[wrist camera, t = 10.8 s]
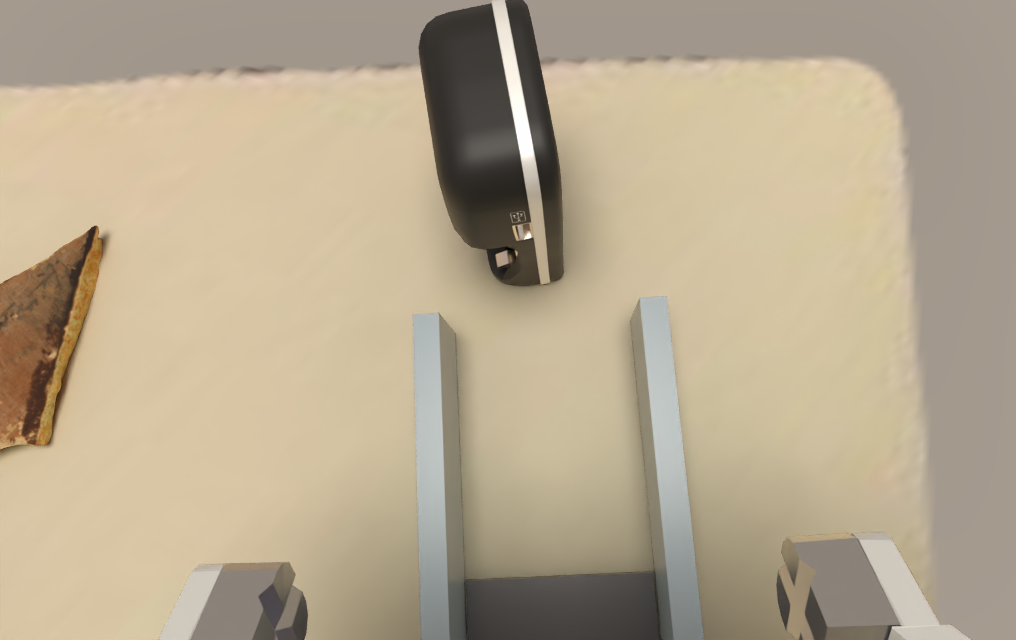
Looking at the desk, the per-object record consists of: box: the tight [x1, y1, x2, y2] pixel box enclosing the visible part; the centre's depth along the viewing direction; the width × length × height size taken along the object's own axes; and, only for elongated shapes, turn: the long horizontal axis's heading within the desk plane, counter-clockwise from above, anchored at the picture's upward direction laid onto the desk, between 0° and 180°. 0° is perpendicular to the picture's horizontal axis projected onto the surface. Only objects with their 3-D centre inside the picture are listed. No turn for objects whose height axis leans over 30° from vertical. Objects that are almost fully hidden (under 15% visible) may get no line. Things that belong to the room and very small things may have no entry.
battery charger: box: [419, 0, 564, 285], centre depth 26 cm, size 7×4×11 cm, turn 10°
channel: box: [413, 296, 704, 640], centre depth 27 cm, size 10×14×4 cm
